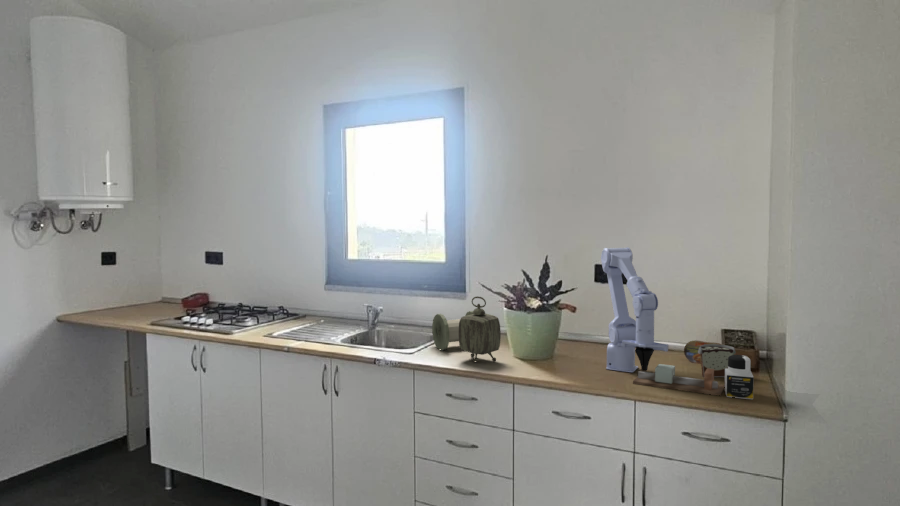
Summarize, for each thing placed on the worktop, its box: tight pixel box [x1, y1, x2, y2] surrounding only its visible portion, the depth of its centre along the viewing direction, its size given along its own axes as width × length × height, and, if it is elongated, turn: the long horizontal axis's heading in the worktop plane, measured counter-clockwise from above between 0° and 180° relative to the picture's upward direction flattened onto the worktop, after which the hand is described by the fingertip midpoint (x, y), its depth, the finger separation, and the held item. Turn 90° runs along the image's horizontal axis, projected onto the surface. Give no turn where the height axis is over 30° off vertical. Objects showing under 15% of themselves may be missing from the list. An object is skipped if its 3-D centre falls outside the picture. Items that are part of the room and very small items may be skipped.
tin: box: [683, 339, 723, 365], centre depth 202 cm, size 15×3×8 cm, turn 47°
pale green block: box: [654, 363, 676, 384], centre depth 179 cm, size 5×6×4 cm
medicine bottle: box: [724, 354, 755, 400], centre depth 166 cm, size 7×7×12 cm
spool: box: [431, 310, 474, 351], centre depth 233 cm, size 16×15×15 cm
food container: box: [698, 344, 737, 378], centre depth 188 cm, size 12×6×10 cm, turn 92°
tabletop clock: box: [458, 296, 502, 362], centre depth 210 cm, size 14×9×25 cm, turn 48°
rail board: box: [632, 368, 725, 397], centre depth 177 cm, size 26×10×6 cm, turn 58°
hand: (644, 370), depth 182 cm, fingers closed
